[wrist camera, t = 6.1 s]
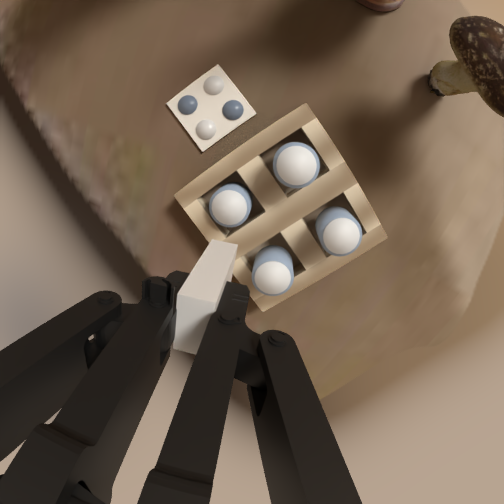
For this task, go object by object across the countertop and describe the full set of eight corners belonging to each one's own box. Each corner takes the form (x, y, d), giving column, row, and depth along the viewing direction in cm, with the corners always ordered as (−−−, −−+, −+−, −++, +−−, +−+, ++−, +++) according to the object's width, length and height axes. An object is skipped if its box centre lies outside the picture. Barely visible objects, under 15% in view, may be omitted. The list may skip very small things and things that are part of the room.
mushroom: (476, 112, 26) (561, 113, 12) (424, 128, 28) (508, 131, 14) (447, 41, 24) (523, 9, 10) (392, 51, 25) (459, 7, 11)
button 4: (307, 219, 30) (311, 230, 27) (341, 198, 29) (349, 206, 26) (328, 251, 31) (333, 264, 28) (360, 230, 30) (370, 242, 27)
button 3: (246, 258, 32) (243, 272, 29) (278, 237, 31) (278, 250, 28) (268, 286, 33) (266, 303, 30) (299, 268, 32) (301, 283, 29)
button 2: (265, 156, 28) (263, 159, 25) (299, 134, 27) (302, 133, 24) (288, 190, 29) (290, 197, 26) (322, 168, 28) (328, 172, 25)
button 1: (208, 195, 33) (200, 202, 29) (238, 174, 32) (233, 178, 28) (230, 225, 34) (224, 235, 30) (260, 205, 33) (258, 213, 29)
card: (167, 103, 30) (165, 103, 29) (218, 64, 28) (217, 64, 27) (203, 151, 31) (202, 152, 31) (256, 113, 30) (256, 113, 29)
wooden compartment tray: (182, 190, 33) (173, 195, 30) (303, 106, 29) (305, 102, 26) (263, 298, 37) (262, 311, 34) (379, 229, 33) (387, 237, 30)
